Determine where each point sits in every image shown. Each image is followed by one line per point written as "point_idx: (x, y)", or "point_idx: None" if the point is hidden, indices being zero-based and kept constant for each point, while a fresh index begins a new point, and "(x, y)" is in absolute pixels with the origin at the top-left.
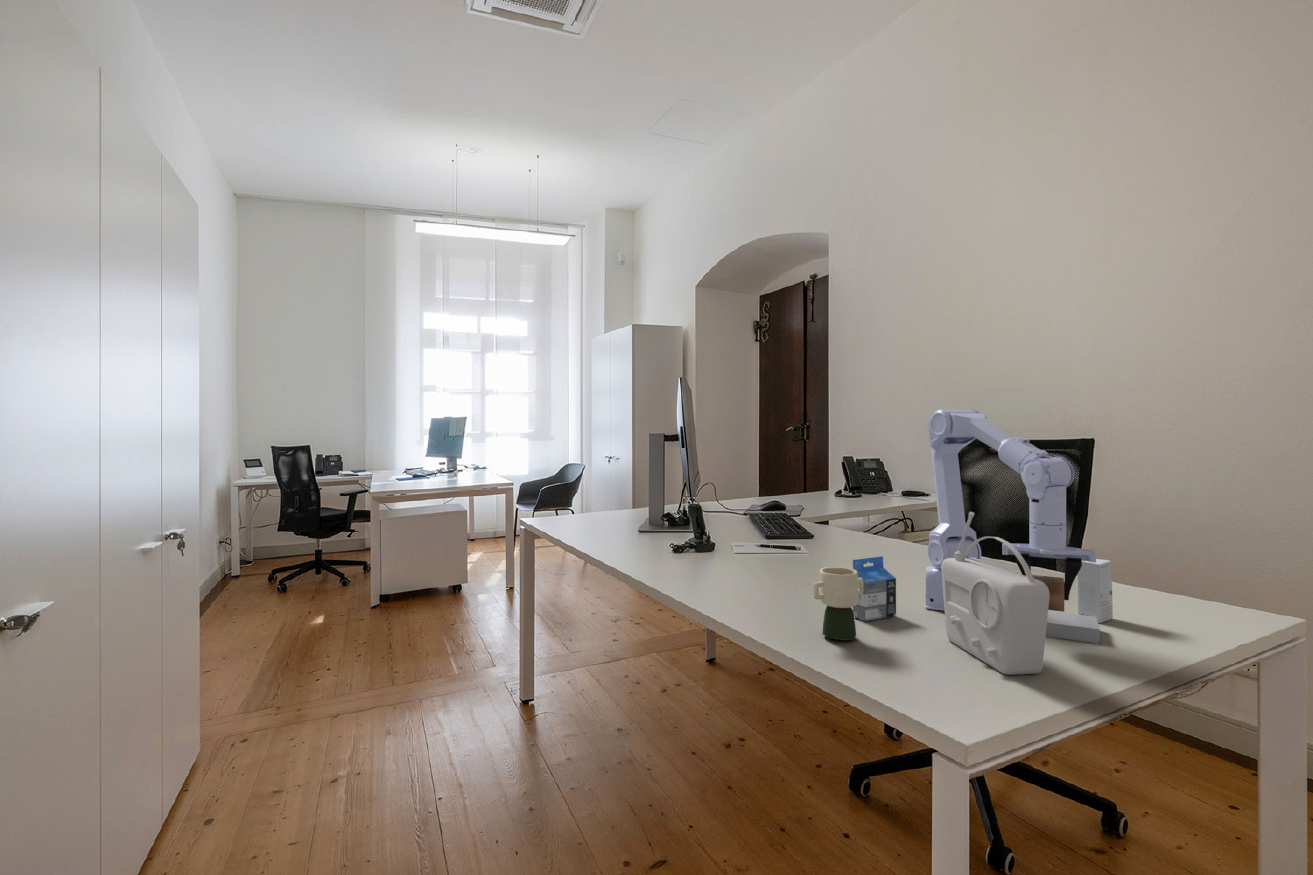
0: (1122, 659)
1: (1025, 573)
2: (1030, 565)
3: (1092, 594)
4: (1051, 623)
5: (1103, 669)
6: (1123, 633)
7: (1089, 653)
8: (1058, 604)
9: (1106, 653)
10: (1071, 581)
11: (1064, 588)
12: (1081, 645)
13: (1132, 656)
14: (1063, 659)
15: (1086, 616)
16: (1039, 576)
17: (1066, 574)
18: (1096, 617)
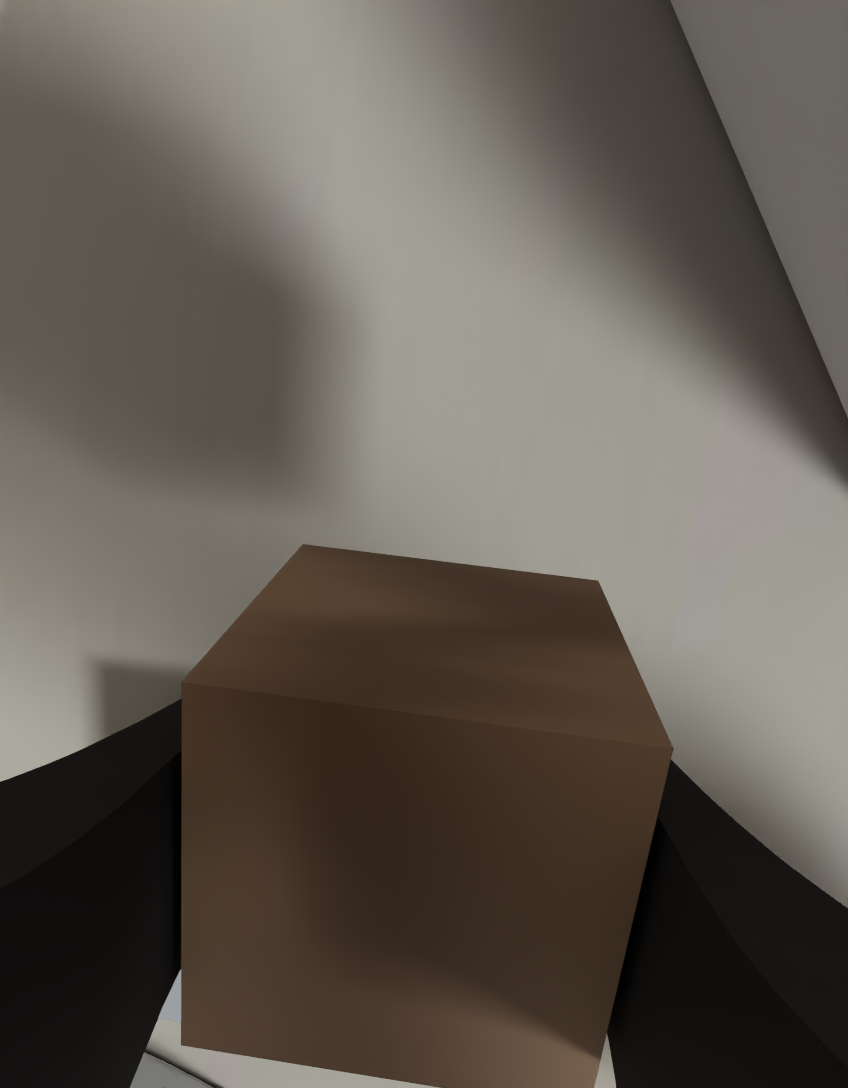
0: (67, 452)
1: (792, 908)
2: (799, 1014)
3: None
4: None
5: (179, 186)
6: None
7: (231, 495)
8: (339, 571)
9: (142, 535)
10: (63, 765)
11: None
12: None
13: (17, 534)
14: (393, 295)
15: (179, 1004)
16: (494, 1041)
17: (64, 830)
18: (141, 1083)
